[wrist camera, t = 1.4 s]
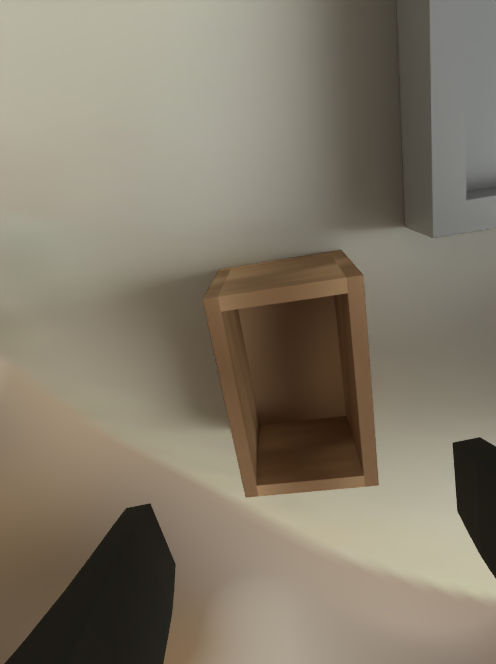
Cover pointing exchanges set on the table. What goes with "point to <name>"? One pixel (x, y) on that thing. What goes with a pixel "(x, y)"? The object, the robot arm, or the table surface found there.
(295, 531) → the table surface
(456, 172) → the big crate
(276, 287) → the small crate
